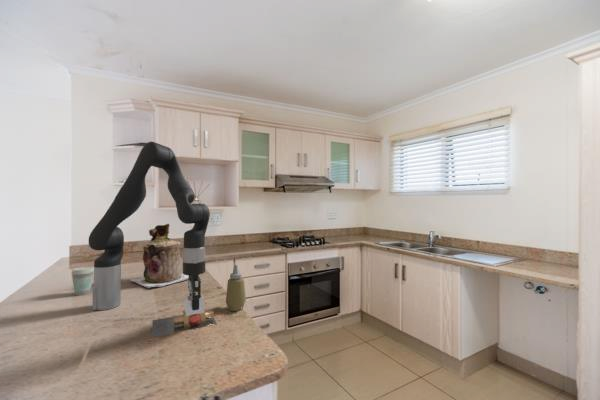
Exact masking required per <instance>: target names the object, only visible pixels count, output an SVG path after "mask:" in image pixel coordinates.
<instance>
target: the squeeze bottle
mask: <svg viewBox="0 0 600 400" xmlns="http://www.w3.org/2000/svg"><path fill="white" fill-rule="evenodd" d="M238 266H239V265H238V264H234V266H233V269H232V273H230V274H229V279H228V280H227V286H226V295H225V303H226V306H227V310H229V311H230V312H238V311H242V310H243V309H242V308H244V307H245V302H246V300H247V298H246V288H245V279H244V278H243V277H242V274H243V273H241V272H239V271H240V270H239V267H238ZM241 307H242V308H241Z"/></svg>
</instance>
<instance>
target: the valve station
mask: <svg viewBox="0 0 600 400" xmlns="http://www.w3.org/2000/svg"><path fill="white" fill-rule="evenodd" d="M191 299H192V298H191ZM191 299H190V300H191ZM214 315H215V314H214V310H211V309H208V310H205V309H204V313H200V314H195V315H189V316H186V315H185V311H184V310H182V314H181V315H175V316H169V317H163V318H159V319H158V318H157V319H153V320H152V331H151V332H152V333H151V334H152V335H151V337H152V338H157V337H160V336H166V335H171V334H175V333H181V332H186V331H191V330H195V329H200V328H205V327H210V326H215V325H218V323H217V321H216V319H215V317H214Z"/></svg>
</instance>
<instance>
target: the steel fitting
mask: <svg viewBox="0 0 600 400" xmlns="http://www.w3.org/2000/svg"><path fill="white" fill-rule="evenodd" d="M194 295H198V293H196V294H194ZM191 298H192V295H189V294H188V295H184V296H183V311H185V315H186V316H189V315H195V314H200V313H204V310H205V297H204V295H203V293H201V298H200V299H199V309H198V310H192V299H191ZM190 299H191V300H190Z"/></svg>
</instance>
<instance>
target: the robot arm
mask: <svg viewBox="0 0 600 400" xmlns="http://www.w3.org/2000/svg"><path fill="white" fill-rule="evenodd" d="M151 167H155V168H158V169H162V170H163V171H164V172H165V173H166V174H167V176H168V180H167V189H168V191H169V194H170V195H171V198H172V199H173V200H174V203H175V206H176V210H177V211H176V212H177V217H178V219H179V220H180V221H181V223H183V224H185V225H187V224H188V225H191V224H193V226H192V228H191V229H189V230H186V231H185V232H184V233H183V250H182V274H184V275H189V278H188V280H187V289H188V293H189V294H188V295H192V310H198V309H199V299H200V298H201V291H202V288H201V286H202V285H201V284H202V279H201V277H200V276H199V275H202V274H204V273H205V272H206V248H205V247H206V246H205V245H206V244H205V243H206V241H205V239H206V238H205V237H206V232H207V229H208V225H209V221H210V216H211V215H210V214H211V213H210V208H209V206H207V205H206V204H205V203H193V202H194V201H195V198H196V197H195V196H196V195H195V194H194V191H193V190H192V188H191V187H190V185H189V184H188V181H187V180H186V179H185V176H184V175H183V172H182V170H181V167H180V164H179V162H178V160H177V156H176V154H175V152H174V150H172V148H170V147H168V146H165V145H164V144H160V143H158V142H155V141H148V142H147V143H145V144H144V145H143V147H142V148H141V149H140V152H139V154H138V156H137V158H136V160H135V162H134V165H133V166H132V169H131V171H130V173H129V174H128V176H127V178H126V179H125V181H124V183H123V184H122V186H121V187H120V189H119V191H118V192H117V194H116V196H115V197H114V199H113V201H112V203H111V204H110V206H109V207H108V209H107V211H106V212H105V213H104V215H103V216H102V217H101V219H100V220H99V221H98V222H97V224H96V225H95V226H94V228H93V229H92V231H91V232H90V234H89V236H88V246H89V248H90V249H92V250H94V251H104V252H103V253H102V254H101V255H100V256H98V257H97V258H95V259H94V262H93V269H94V272H93V286H92V311H105V310H109V309H110V310H111V309H114V308H117V307H118V306H120V305H121V303H122V302H121V300H122V298H121V297H122V295H121V294H122V293H121V292H122V286H121V285H122V280H121V279H122V278H121V277H122V259H123V258H124V257H123V256H124V245H125V244H124V243H125V242H124V240H125V239H124V238H125V236H124V233H123V230H122V228H120V227H118V226H119V225H120V224H121V223H122V222H124V221H125V220H127V219H128V218H130V216H132V215H134V213H136V212H137V211H138V209H139V208H140V207H141V206H142V204H143V203H144V200H145V198H146V197H147V186H146V177H147V174H148V173H149V170H150V169H151ZM194 294H198V295H194Z"/></svg>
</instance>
